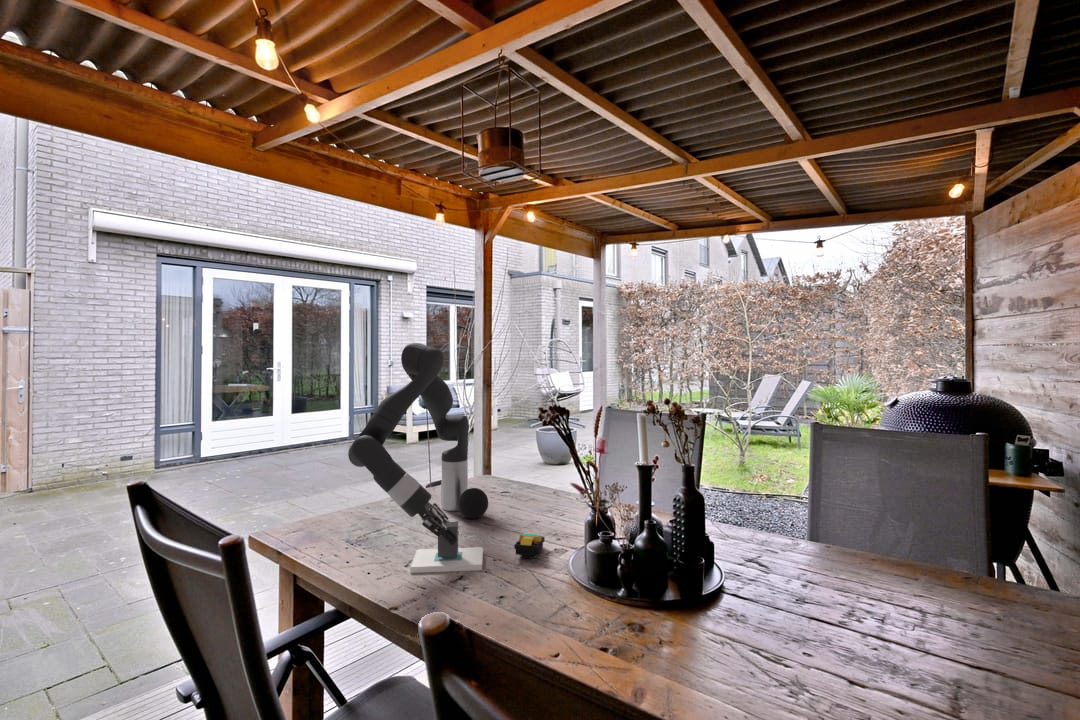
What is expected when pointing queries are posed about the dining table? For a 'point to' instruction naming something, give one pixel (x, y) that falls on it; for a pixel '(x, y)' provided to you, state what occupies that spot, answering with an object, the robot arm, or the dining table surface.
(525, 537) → the black bowl with blocks
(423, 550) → the board
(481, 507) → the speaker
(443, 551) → the block
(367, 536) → the dining table surface
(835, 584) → the dining table surface
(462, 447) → the robot arm
